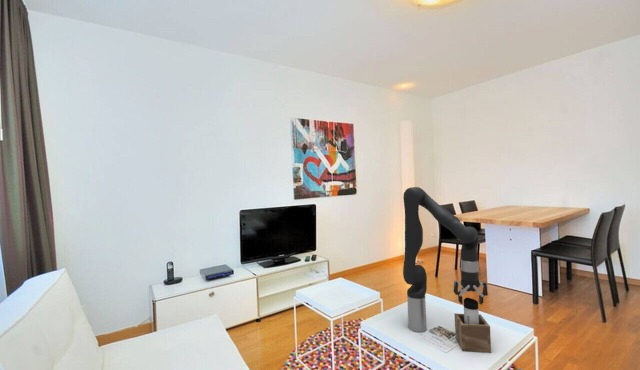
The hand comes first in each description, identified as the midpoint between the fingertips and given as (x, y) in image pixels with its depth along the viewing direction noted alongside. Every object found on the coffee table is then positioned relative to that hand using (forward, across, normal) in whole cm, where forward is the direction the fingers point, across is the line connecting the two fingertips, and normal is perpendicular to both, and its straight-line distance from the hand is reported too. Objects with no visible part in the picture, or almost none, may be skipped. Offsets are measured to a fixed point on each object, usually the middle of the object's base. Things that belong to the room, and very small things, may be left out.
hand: (470, 303), depth 139 cm
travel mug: (+19, 0, 0) cm, 19 cm away
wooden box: (+19, 0, 0) cm, 19 cm away
